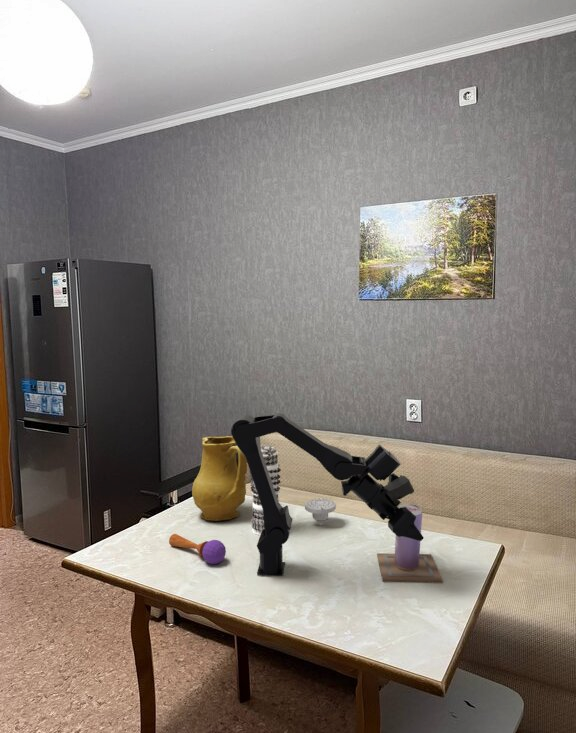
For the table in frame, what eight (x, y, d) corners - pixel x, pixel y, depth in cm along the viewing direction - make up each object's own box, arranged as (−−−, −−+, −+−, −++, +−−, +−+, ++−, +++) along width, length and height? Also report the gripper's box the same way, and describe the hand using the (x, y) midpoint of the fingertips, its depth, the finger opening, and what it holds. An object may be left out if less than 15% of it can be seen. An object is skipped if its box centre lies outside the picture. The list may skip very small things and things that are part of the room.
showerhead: (305, 507, 157) (303, 496, 166) (306, 531, 157) (304, 518, 167) (337, 506, 157) (333, 495, 167) (338, 530, 157) (334, 517, 167)
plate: (442, 582, 125) (442, 580, 125) (382, 581, 126) (382, 578, 126) (431, 556, 139) (431, 553, 139) (377, 555, 140) (377, 552, 140)
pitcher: (237, 502, 182) (235, 430, 180) (255, 521, 165) (253, 442, 163) (187, 510, 176) (184, 436, 174) (200, 531, 159) (198, 448, 156)
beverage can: (420, 572, 130) (423, 515, 127) (395, 570, 130) (398, 513, 128) (417, 559, 135) (421, 504, 133) (393, 557, 136) (396, 502, 133)
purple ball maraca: (183, 527, 152) (231, 540, 139) (181, 549, 151) (229, 564, 138) (165, 530, 147) (213, 543, 134) (164, 552, 147) (212, 568, 134)
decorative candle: (284, 524, 162) (282, 444, 160) (279, 537, 153) (277, 451, 151) (254, 523, 164) (252, 443, 161) (248, 535, 155) (246, 451, 152)
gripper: (406, 478, 121) (453, 521, 123) (380, 457, 139) (422, 495, 142) (373, 515, 120) (421, 557, 123) (352, 489, 139) (394, 527, 141)
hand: (415, 531), depth 132 cm, fingers open, 9 cm apart
